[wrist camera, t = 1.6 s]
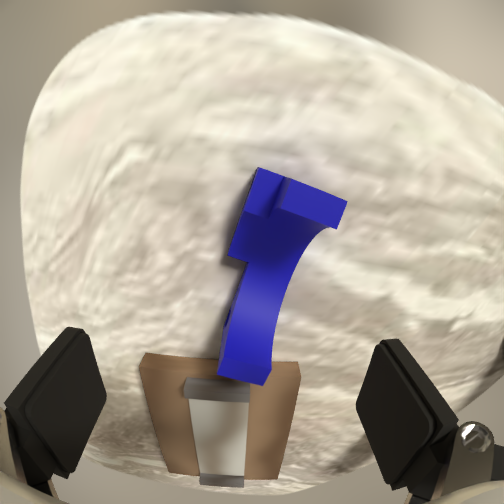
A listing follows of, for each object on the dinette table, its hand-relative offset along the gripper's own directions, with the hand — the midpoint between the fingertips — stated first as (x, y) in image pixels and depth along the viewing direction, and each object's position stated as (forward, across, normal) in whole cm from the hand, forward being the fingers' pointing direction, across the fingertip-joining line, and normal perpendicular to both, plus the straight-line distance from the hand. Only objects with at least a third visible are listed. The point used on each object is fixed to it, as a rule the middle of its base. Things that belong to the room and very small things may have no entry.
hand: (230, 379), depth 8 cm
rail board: (+12, +1, +18) cm, 22 cm away
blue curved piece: (+13, -2, 0) cm, 13 cm away
